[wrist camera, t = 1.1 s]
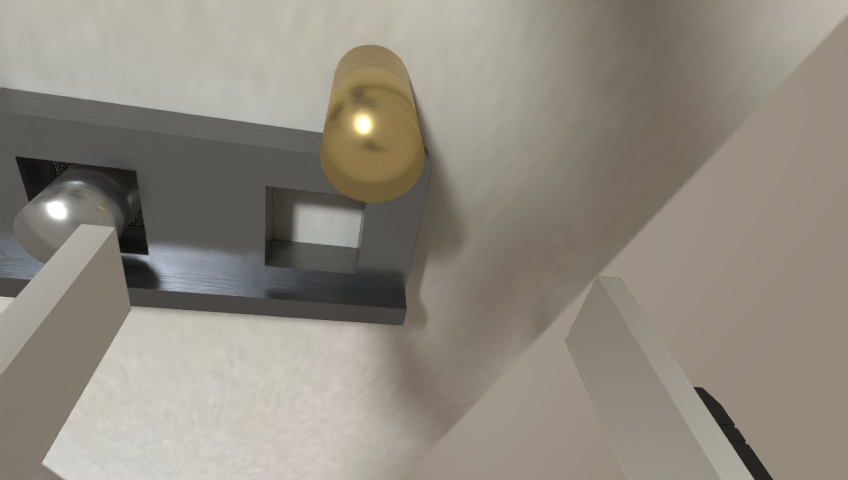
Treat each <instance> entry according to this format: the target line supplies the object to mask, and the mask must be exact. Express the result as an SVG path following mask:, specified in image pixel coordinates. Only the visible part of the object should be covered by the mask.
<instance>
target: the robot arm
mask: <svg viewBox="0 0 848 480" xmlns="http://www.w3.org/2000/svg"><path fill="white" fill-rule="evenodd" d="M130 310H131V305H130V300H129V295H128V290H127V285H126V279H125V274H124V269H123V264H122V259H121V253H120V248H119V243H118V238H117V232H116V227H107V226H97V225H87V224H81V225H80V226H79V227H78V228H77V229H76V231H75V232H74V233H73V234H72V235H71V236H70V237H69V238H68V240H67V241H66V242H65V243H64V244H63V245H62V246H61V247H60V249H59V250H58V251H57V252H56V253H55V254H54V255H53V256H52V258H51V259H50V260H49V261H48V262H47V263H46V264H45V265H44V267H43V268H42V269H41V270H40V271H39V272H38V273H37V274H36V276H35V277H34V278H33V279H32V280H31V281H30V282H29V283H28V285H27V286H26V287H25V288H24V289H23V290H22V291H21V292H20V294H19V295H18V296H17V297H16V298H15V299H14V300H13V301H12V303H11V304H10V305H9V306H8V307H7V308H6V309H5V310H4V312H3V313H2V314H1V315H0V480H32V479H33V477H34V475H35V473H36V472H37V470H38V468H39V467H40V465H41V463H42V461H43V460H44V458H45V456H46V454H47V453H48V451H49V449H50V448H51V446H52V444H53V442H54V441H55V439H56V437H57V436H58V434H59V432H60V430H61V429H62V427H63V425H64V424H65V422H66V420H67V418H68V417H69V415H70V413H71V412H72V410H73V408H74V406H75V405H76V403H77V401H78V400H79V398H80V396H81V394H82V393H83V391H84V389H85V388H86V386H87V384H88V382H89V381H90V379H91V377H92V375H93V374H94V372H95V370H96V369H97V367H98V365H99V363H100V362H101V360H102V358H103V357H104V355H105V353H106V351H107V350H108V348H109V346H110V345H111V343H112V341H113V339H114V338H115V336H116V334H117V333H118V331H119V329H120V327H121V326H122V324H123V322H124V321H125V319H126V317H127V315H128V314H129V312H130ZM565 342H566V344H567V346H568V348H569V351H570V353H571V355H572V357H573V359H574V362H575V364H576V366H577V369H578V371H579V373H580V375H581V377H582V380H583V382H584V384H585V387H586V389H587V391H588V393H589V395H590V398H591V400H592V402H593V405H594V407H595V409H596V411H597V413H598V416H599V418H600V420H601V423H602V425H603V427H604V430H605V432H606V434H607V436H608V438H609V441H610V443H611V445H612V448H613V450H614V452H615V454H616V457H617V459H618V461H619V463H620V466H621V468H622V470H623V472H624V475H625V476H626V479H627V480H773V479H772V478H771V476H770V475H769V473H768V472H767V470H766V469H765V467H764V466H763V464H762V463H761V462H760V460H759V459H758V457H757V456H756V454H755V453H754V452H753V450H752V449H751V447H750V446H749V445H748V444H746V443H745V441H746V440H745V439H744V437H743V436H742V434H741V433H740V431H739V430H738V429H737V428H735V427H734V425H735V424H734V423H733V421H732V420H731V418H730V417H729V416H728V414H727V413H726V411H725V410H724V408H723V407H722V406H721V405H720V404H719V403H718V402H717V401H716V400H715V399H714V398H713V397H712V396H711V395H710V394H709V393H708V392H707V391H705V390H704V389H703V388H699V387H693V386H692V385H691V383H690V382H689V380H688V379H687V377H686V376H685V374H684V373H683V371H682V370H681V368H680V367H679V365H678V364H677V362H676V361H675V359H674V358H673V357H672V355H671V353H670V352H669V350H668V349H667V348H666V346H665V344H664V343H663V341H662V340H661V338H660V337H659V335H658V334H657V332H656V331H655V329H654V328H653V326H652V325H651V323H650V322H649V320H648V319H647V317H646V316H645V314H644V313H643V311H642V310H641V308H640V307H639V305H638V303H637V302H636V300H635V299H634V297H633V296H632V294H631V293H630V291H629V290H628V288H627V287H626V285H625V284H624V282H623V281H622V279H621V278H613V277H604V276H597V278H596V280H595V282H594V284H593V286H592V288H591V290H590V292H589V294H588V296H587V298H586V300H585V302H584V304H583V306H582V308H581V310H580V312H579V314H578V316H577V318H576V320H575V322H574V324H573V326H572V328H571V330H570V332H569V334H568V336H567V338H566V340H565Z"/></svg>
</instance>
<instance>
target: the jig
mask: <svg viewBox="0 0 848 480" xmlns="http://www.w3.org/2000/svg"><path fill="white" fill-rule="evenodd" d="M322 137H323V133H318V132H311V131H304V130H297V129H290V128H283V127H276V126H269V125H262V124H255V123H247V122H240V121H233V120H226V119H219V118H212V117H205V116H198V115H191V114H184V113H177V112H170V111H163V110H156V109H148V108H141V107H134V106H127V105H120V104H113V103H106V102H99V101H92V100H85V99H78V98H71V97H64V96H56V95H49V94H42V93H35V92H28V91H21V90H14V89H7V88H0V296H2V297H17V296H18V295H19V294H20V292H21V291H22V290H23V289H24V288H25V287H26V286H27V285H28V283H29V282H30V281H31V280H32V279H33V278H34V277H35V276H36V274H37V273H38V272H39V271H40V270H41V269H42V268H43V267H44V265H45V264H44V263H42V262H40V261H39V260H37V259H35V258H34V257H32V256H31V255H30V254H29V253H27V252H26V251H25V250H24V249H23V248H22V246H21V245H20V244H19V242H18V241H17V239H16V237H15V234H14V231H13V222H14V219H15V216H16V215H17V213H18V212H19V211H20V210H21V209H23V208H24V207H25V206H26V205H27V204H28V203H29V202H30V201H32V200H33V199H34V198H35V197H36V196H37V195H38V194H39V193H41V192H42V191H43V190H44V189H45V188H46V187H47V186H48V185H49V184H51V183H52V182H53V181H54V180H55V179H56V174H55V170H54V166H53V162H52V161H60V162H69V163H77V164H85V165H94V166H102V167H110V168H119V169H127V170H136V174H137V181H138V187H139V193H140V200H141V206H142V213H143V219H144V225H145V227H140V226H130V225H128V226H127V228H126V229H125V230H124V232H123V233H122V234H121V236H120V237H119V238H118V243H119V248H120V253H121V259H122V264H123V269H124V274H125V279H126V285H127V290H128V295H129V300H130V305H131V306H141V307H155V308H168V309H182V310H196V311H210V312H224V313H238V314H252V315H266V316H279V317H293V318H307V319H321V320H335V321H349V322H363V323H377V324H390V325H403V323H404V319H405V314H406V310H407V308H406V297H405V287H406V282H407V278H408V273H409V269H410V264H411V260H412V255H413V251H414V246H415V242H416V237H417V233H418V228H419V223H420V219H421V214H422V210H423V205H424V201H425V196H426V192H427V187H428V183H429V178H430V174H431V164H430V160H429V156H428V151H427V148H424V151H425V160H424V166H423V169H422V172H421V174H420V176H419V178H418V180H417V181H416V183H415V184H414V185H413V186H412V187H411V188H410V189H409V190H408V191H407V192H405V193H404V194H402V195H401V196H399V197H397V198H394V199H392V200H389V201H385V202H376V203H370V202H364V205H363V212H362V219H361V226H360V233H359V240H358V247H357V248H350V247H340V246H330V245H320V244H310V243H300V242H290V241H280V240H272V221H273V187H278V188H287V189H295V190H303V191H312V192H320V193H329V194H337V195H344V194H342V193H341V192H339V191H338V190H337V189H336V188H335V187H334V186H333V185H332V184H331V183H330V182H329V180H328V179H327V177H326V176H325V173H324V171H323V169H322V165H321V161H320V147H321V142H322ZM345 196H346V195H345Z"/></svg>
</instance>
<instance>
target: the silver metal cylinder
mask: <svg viewBox="0 0 848 480" xmlns="http://www.w3.org/2000/svg"><path fill="white" fill-rule="evenodd" d="M141 207H142V206H141V200H140V193H139V187H138V181H137V174H136V170H127V169H119V168H110V167H102V166H94V165H85V164H77V163H73V164H72V165H71V166H70V167H68V168H67V169H66V170H65V171H64V172H63V173H62V174H61V175H60V176H58V177H57V178H56V179H55V180H54V181H53V182H52V183H51V184H49V185H48V186H47V187H46V188H45V189H44V190H43V191H42V192H41V193H39V194H38V195H37V196H36V197H35V198H34V199H33V200H32V201H30V202H29V203H28V204H27V205H26V206H25V207H24V208H23V209H21V210H20V211H19V212H18V213H17V215H16V216H15V219H14V222H13V231H14V234H15V237H16V239H17V241H18V242H19V244H20V245H21V246H22V248H23V249H24V250H25V251H26V252H27V253H29V254H30V255H31V256H32V257H34V258H35V259H37V260H39V261H40V262H42V263H44V264H46V263H47V262H48V261H49V260H50V259H51V258H52V256H53V255H54V254H55V253H56V252H57V251H58V250H59V249H60V247H61V246H62V245H63V244H64V243H65V242H66V241H67V240H68V238H69V237H70V236H71V235H72V234H73V233H74V232H75V231H76V229H77V228H78V227H79V226H80V225H81V224H87V225H97V226H107V227H116V232H117V238H119V237H120V236H121V234H122V233H123V232H124V230H125V229H126V228H127V226H128V225H129V224H130V222H131V221H132V219H133V218H134V217H135V215H136V214H137V213H138V211H139V210H140V209H141Z"/></svg>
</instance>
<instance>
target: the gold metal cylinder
mask: <svg viewBox="0 0 848 480" xmlns="http://www.w3.org/2000/svg"><path fill="white" fill-rule="evenodd" d="M424 160H425V151H424V145H423V140H422V136H421V131H420V127H419V122H418V118H417V113H416V109H415V104H414V100H413V95H412V90H411V86H410V81H409V77H408V73H407V70H406V68H405V66H404V64H403V62H402V61H401V60H400V58H399V57H398V56H397V55H396V54H395V53H393V52H392V51H390V50H388V49H387V48H384V47H381V46H377V45H364V46H360V47H357V48H354V49H352V50H351V51H349V52H348V53H347V54H346V55H344V57H343V58H342V59H341V60H340V62H339V64H338V66H337V68H336V71H335V75H334V80H333V85H332V91H331V96H330V101H329V106H328V111H327V116H326V121H325V126H324V131H323V137H322V142H321V147H320V161H321V165H322V169H323V171H324V173H325V176H326V177H327V179H328V180H329V182H330V183H331V184H332V185H333V186H334V187H335V188H336V189H337V190H338V191H339V192H341V193H342V194H344V195H346V196H347V197H350V198H352V199H354V200H358V201H362V202H370V203H376V202H385V201H389V200H392V199H394V198H397V197H399V196H401V195H402V194H404V193H405V192H407V191H408V190H409V189H410V188H411V187H412V186H413V185H414V184H415V183H416V181H417V180H418V178H419V176H420V174H421V172H422V169H423V166H424Z"/></svg>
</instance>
